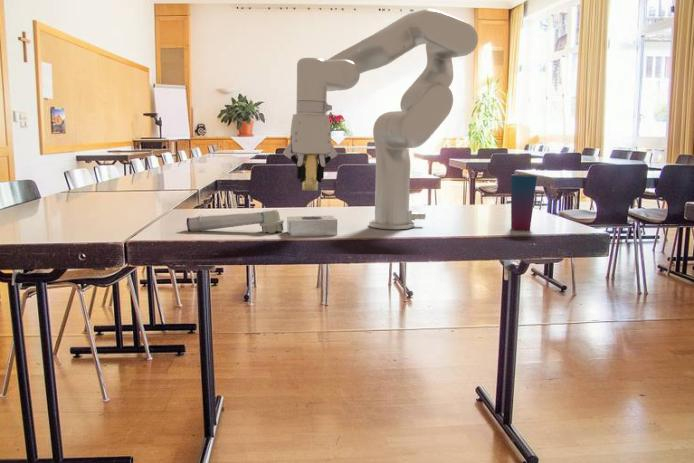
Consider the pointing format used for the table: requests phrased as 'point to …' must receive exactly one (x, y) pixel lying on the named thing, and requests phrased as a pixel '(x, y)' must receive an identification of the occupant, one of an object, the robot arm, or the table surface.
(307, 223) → the block
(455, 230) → the table surface
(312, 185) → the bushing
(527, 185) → the cup
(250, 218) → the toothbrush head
